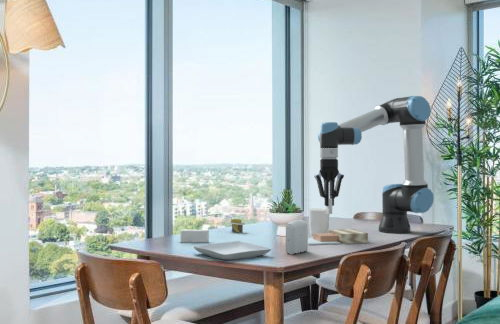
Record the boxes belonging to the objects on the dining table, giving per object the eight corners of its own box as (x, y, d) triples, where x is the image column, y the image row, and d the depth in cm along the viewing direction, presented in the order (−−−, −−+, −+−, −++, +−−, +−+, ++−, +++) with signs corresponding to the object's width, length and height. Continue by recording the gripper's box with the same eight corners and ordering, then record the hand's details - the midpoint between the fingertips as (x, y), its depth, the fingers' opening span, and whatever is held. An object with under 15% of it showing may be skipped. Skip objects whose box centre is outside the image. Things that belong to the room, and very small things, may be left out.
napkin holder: (215, 241, 242) (215, 228, 242) (202, 245, 232) (202, 231, 232) (185, 239, 248) (185, 226, 248) (171, 243, 238) (171, 229, 238)
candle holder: (329, 237, 255) (329, 210, 255) (307, 236, 257) (307, 210, 257) (330, 234, 265) (330, 208, 265) (309, 233, 267) (309, 208, 267)
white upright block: (293, 255, 208) (293, 221, 208) (283, 253, 211) (284, 220, 211) (309, 251, 216) (309, 219, 216) (299, 250, 219) (300, 218, 219)
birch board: (353, 238, 253) (353, 229, 253) (367, 242, 240) (367, 233, 240) (328, 238, 250) (328, 229, 250) (341, 243, 237) (341, 234, 237)
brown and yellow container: (237, 236, 260) (238, 221, 260) (214, 232, 274) (214, 218, 274) (257, 234, 268) (257, 220, 268) (233, 230, 281) (234, 216, 281)
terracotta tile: (330, 238, 248) (330, 232, 248) (338, 241, 240) (338, 235, 240) (313, 239, 245) (313, 233, 245) (320, 241, 238) (320, 235, 238)
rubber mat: (325, 238, 251) (325, 237, 251) (340, 244, 236) (340, 242, 236) (295, 239, 247) (295, 238, 247) (308, 245, 232) (308, 243, 232)
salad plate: (223, 263, 192) (224, 253, 192) (192, 254, 209) (192, 245, 209) (272, 257, 205) (272, 248, 205) (238, 249, 222) (239, 240, 222)
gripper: (318, 158, 237) (318, 215, 238) (346, 158, 241) (347, 213, 241) (311, 158, 244) (311, 213, 245) (339, 158, 248) (339, 212, 248)
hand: (329, 213), depth 243 cm, fingers closed
